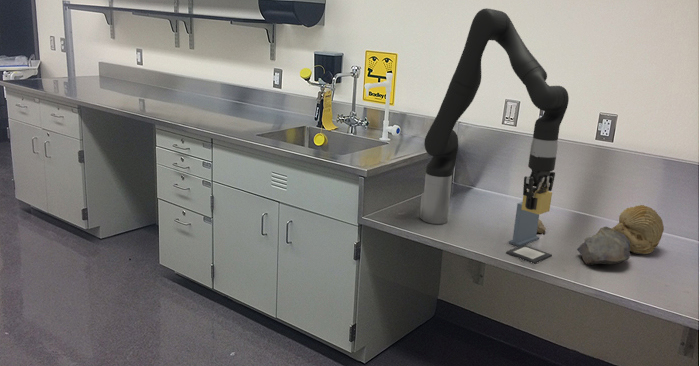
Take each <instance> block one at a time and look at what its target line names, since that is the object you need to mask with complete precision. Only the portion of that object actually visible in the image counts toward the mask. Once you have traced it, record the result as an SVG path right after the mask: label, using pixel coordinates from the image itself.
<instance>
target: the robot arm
mask: <svg viewBox="0 0 700 366" xmlns="http://www.w3.org/2000/svg"><path fill="white" fill-rule="evenodd" d="M489 41H494V42H496V43H497V44H498V45H500V47H502V48H503V50H504V51H505V52H506V54H507V55H508V59H509V63H510V66H511V68H512V71H513V73H515V75H516V76H517V77H518V79H519V80H520V81H521V83H522V84H523V85H524V86H525V89H526V91H527V95H529V98H530V100H531V102H532V104H533V105H534V106H535V107H536V108H537V109H538V110H541V111H543V114H542V116H541V117H539V118H537V119H536V120H535V122H534V129H533V135H532V139H531V144H530V151H529V157H528V168H529V169H530V170H531V172H530V175H529V176H524V178H523V189H522V196H523V195H525V196H527V203H526V208H527V209H530V210H533V209H534V202H535V196H536V193H537V192H538V191H539V190H540V189H542V190H545V191H549V192H552V191H553V186H554V182H555V176H556V172H555V171H554V170H555V167H556V160H557V154H558V147H559V146H558V145H559V144H558V139H559V135H560V128H561V124H562V122H563V119H564V117H565V114H566V113H567V112H566V111H567V109H568V106H569V98H570V97H569V93H568V91H567V89H566V88H565V87H564V86H561V85H550V84H548V83H547V82H546V81H547V79H548V73H547V72H546V70H545V68H544V67H543V66H542V65H541V64H540V63H539V61H538V60H537V59H536V58H535V56H534V55H533V54H532V53H531V51H530V50H529V49H528V47H527V46H526V44H525V43H524V41H523V39H522V37H521V36H520V35H519V33H518V31H517V28H516V27H515V26H514V23H513V21H512V20H511V18H510V16H509V15H508V14H507V13H506V12H504V11H501V10H498V9H492V8H482V9H480V10H479V11H477V13H476V14H475V15H474V16H473V18H472V22H471V23H470V27H469V30H468V34H467V37H466V41H465V44H464V47H463V50H462V53H461V56H460V58H459V61H458V63H457V66H456V69H455V71H454V73H453V75H452V78H451V79H450V82H449V85H448V87H447V90H446V93H445V95H444V98H443V99H442V103H441V105H440V107H439V110H438V113H437V115H436V117H435V119H434V120H433V122H432V124H431V126H430V128H429V129H428V131H427V134H426V136H425V138H424V142H423V143H424V150H425V151H426V153H427V155H429V156H431V157H432V158H431V159H430V161H429V163H428V164H426V168H425V176H424V177H425V179H424V188H423V189H424V190H423V192H421V199H420V209H419V219H421V220H422V221H423V222H425V223H428V224H431V225H432V224H433V225H442V224H446V223H448V219H449V210H450V199H451V192H452V180H453V172H454V169H455V168H456V167H455V166H456V163H457V159H458V150H459V137H458V134H457V133H456V131H455V130H453V129H454V128H455V125H456V123H457V122H458V120H459V119H460V118H461V117H462V116H463V114H464V113H465V112H466V110H467V109H468V108H469V107H470V106H471V104H472V103H473V102H474V99H475V97H476V95H477V94H478V91H479V89H480V85H481V83H482V58H483V53H484V52H485V49H486V48H487V45H488V43H489ZM527 190H528V191H527ZM533 190H534V192H533Z"/></svg>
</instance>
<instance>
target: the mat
mask: <svg viewBox="0 0 700 366" xmlns="http://www.w3.org/2000/svg"><path fill="white" fill-rule="evenodd" d="M505 254H507V255H510V256H513V257H515V258H517V257H518V258H517V259H520V258H521V260H523V259H524V260H523V261H525V260H526V262H528V261H529V262H528V263H531V262H532V263H531V264H533V263H534V264H538V263H539V261H540V262H542V261H545V260H546V259H549V258H551V257H552V256H553V255H552V254H551V253H549V252H546V251H542V250H540V249H537V248H535V247H531V246H528V245H527V244H526V245H521V246H519V247H518V246H515V247H514V248H512V249H510V250H507V251H505ZM537 262H538V263H537Z"/></svg>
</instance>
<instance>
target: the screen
mask: <svg viewBox="0 0 700 366" xmlns="http://www.w3.org/2000/svg"><path fill="white" fill-rule="evenodd" d="M516 204H517V205H516V212H515V220H514V226H513V234H512V239H510V240H508V244H510V245H514V246H515V247H519V246H521V245H526V246H527V245H528V244H530V243H532V242H533V243H534V242H535V241H538V240H540V236H538V235H537V227H538V220H540V215H538V214H535V213H532V212H528V211H525V210H522V201H520V202H518V203H516Z"/></svg>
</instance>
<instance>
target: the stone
mask: <svg viewBox="0 0 700 366" xmlns="http://www.w3.org/2000/svg"><path fill="white" fill-rule="evenodd" d="M612 228H613V227H609V226H603V227H600V228H599V230H598V231H597V233H596V234H593V235H591V236H588V237H586V238H585V239H584V242H583V243H581V244H580V245H579V246H578V247H577V249H576V250H577V252H578V253H579V254H580V256H581V257H582V260H583V262H584V264H585V265H589V266H590V265H591V266H594V265H614V264H618V263H621V262H625V261H627V260H629V259H630V258H631V255H632V254H631V253H630V252H631V251H630V241H629V240H628V239H627V238H626V237H625V235H624V234H622V233H620V232H617V231H616V230H614V229H612Z"/></svg>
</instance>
